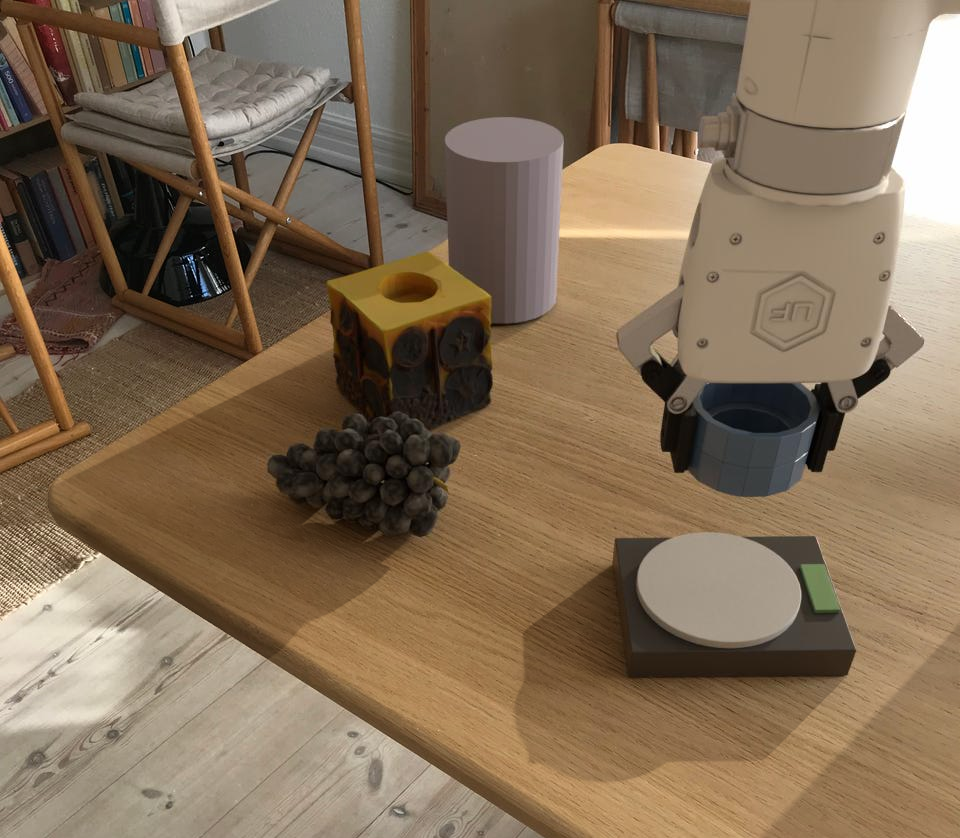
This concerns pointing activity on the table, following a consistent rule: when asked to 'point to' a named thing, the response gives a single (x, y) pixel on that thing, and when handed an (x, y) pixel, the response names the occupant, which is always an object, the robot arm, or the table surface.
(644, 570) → the scale
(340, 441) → the fruit
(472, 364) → the candle
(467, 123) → the container
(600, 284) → the table surface
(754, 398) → the bowl
